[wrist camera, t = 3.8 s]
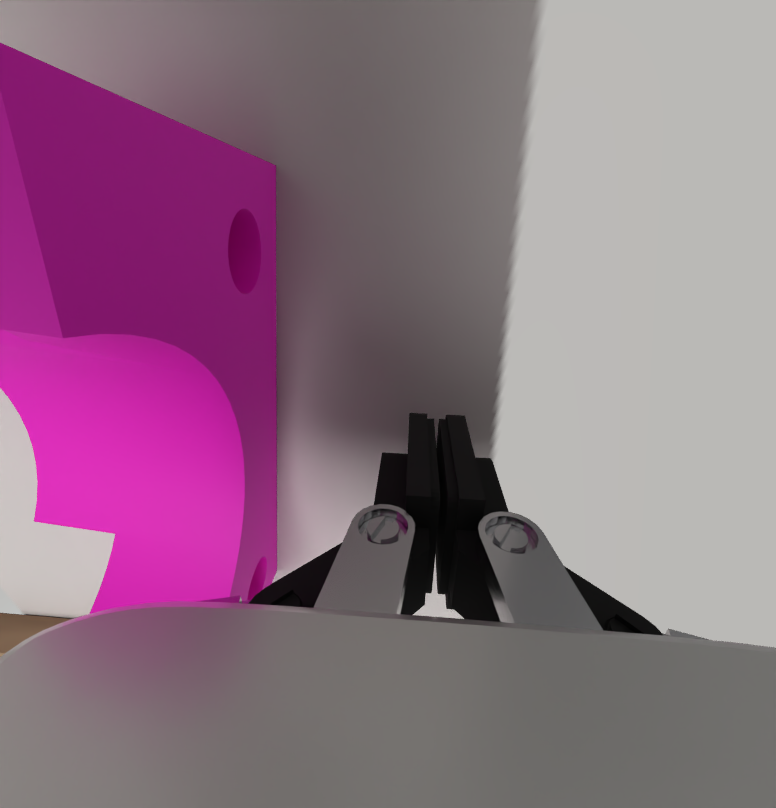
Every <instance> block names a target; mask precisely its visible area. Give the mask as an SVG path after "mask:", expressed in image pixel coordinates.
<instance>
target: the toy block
mask: <svg viewBox="0 0 776 808" xmlns="http://www.w3.org/2000/svg"><path fill="white" fill-rule="evenodd" d="M0 388H1V389H2V390H3V391H4V393H5V394H6V395H7V396H8V397H9V399H10V400H11V402H12V403H13V405H14V406H15V408H16V410H17V411H18V413H19V414H20V416H21V418H22V421H23V423H24V425H25V427H26V429H27V431H28V434H29V437H30V440H31V443H32V446H33V450H34V456H35V461H36V467H37V480H38V486H37V504H36V511H35V518H34V522H41V523H48V524H54V525H61V526H68V527H75V528H81V529H88V530H95V531H101V532H108V533H115V538H114V543H113V548H112V552H111V555H110V559H109V562H108V566H107V569H106V572H105V575H104V578H103V581H102V584H101V587H100V590H99V592H98V595H97V597H96V600H95V602H94V605H93V607H92V609H91V612H90V614H92V613H96V612H100V611H104V610H108V609H112V608H116V607H123V606H130V605H137V604H144V603H156V602H174V601H189V602H196V601H203V600H211V599H218V598H226V597H233V596H241V600H242V601H246V600H252V598H253V597H254V596H255V595H256V594H257V593H259V592H260V591H261V590H263V589H264V588H266V587H267V586H269V585H271V584H272V581H273V579H274V576H275V574H276V571H277V407H276V165H273V164H271V163H269V162H267V161H264V160H262V159H260V158H258V157H256V156H253V155H251V154H249V153H247V152H244V151H242V150H240V149H238V148H235V147H233V146H231V145H229V144H226V143H224V142H222V141H220V140H217V139H215V138H213V137H211V136H208V135H206V134H204V133H202V132H199V131H197V130H195V129H193V128H190V127H188V126H186V125H184V124H181V123H179V122H177V121H175V120H173V119H170V118H168V117H166V116H164V115H161V114H159V113H157V112H155V111H152V110H150V109H148V108H146V107H143V106H141V105H139V104H137V103H134V102H132V101H130V100H128V99H125V98H123V97H121V96H119V95H116V94H114V93H112V92H110V91H107V90H105V89H103V88H101V87H99V86H96V85H94V84H92V83H90V82H87V81H85V80H83V79H81V78H78V77H76V76H74V75H72V74H69V73H67V72H65V71H63V70H60V69H58V68H56V67H54V66H51V65H49V64H47V63H45V62H42V61H40V60H38V59H36V58H33V57H31V56H29V55H27V54H24V53H22V52H20V51H18V50H16V49H13V48H11V47H9V46H7V45H4V44H2V43H0Z"/></svg>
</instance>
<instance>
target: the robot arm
mask: <svg viewBox="0 0 776 808" xmlns="http://www.w3.org/2000/svg"><path fill="white" fill-rule="evenodd" d="M435 554H436V572H437V590H438V594H445V596H446V609H454V610H456V611H457V612H458V613H459V614H460V615H461V616H462V617H463V618H464V619H455V618H442V617H429V616H416V615H413V614H414V613H415V612H416V611H418V610H419V609H420V608H421V607H422V606H424V605H425V594H426V593H431V592H432V583H433V572H434V562H435ZM0 808H776V648H774V647H765V646H757V645H750V644H743V643H733V642H724V641H713V640H708V639H705V638H701V637H697V636H694V635H689V634H686V633H682V632H679V631H675V630H671V629H668V630H667V632H666V634H662V633H661V632H660V631H659V630H658V629H657V628H656V627H655V626H654V625H653V624H652V623H650V622H649V621H648V620H646V619H645V618H644V617H643V616H641V615H639V614H638V613H636V612H635V611H633V610H632V609H630V608H629V607H627V606H625V605H624V604H622V603H621V602H619V601H617V600H616V599H614V598H613V597H611V596H610V595H608V594H607V593H605V592H604V591H602V590H600V589H599V588H597V587H596V586H594V585H593V584H591V583H590V582H588V581H586V580H585V579H583V578H582V577H580V576H579V575H577V574H575V573H574V572H572V571H571V570H569V569H568V568H566V567H565V566H563V564H562V562H561V561H560V559H559V558H558V556H557V554H556V553H555V551H554V550H553V548H552V546H551V544H550V543H549V541H548V540H547V538H546V536H545V535H544V533H543V532H542V530H541V529H540V528H539V527H538V526H537V525H536V524H535V523H533V522H532V521H531V520H529V519H528V518H525V517H523V516H521V515H519V514H515V513H511V512H508V508H507V506H506V502H505V499H504V496H503V493H502V490H501V487H500V484H499V481H498V477H497V474H496V471H495V468H494V465H493V462H492V460H491V459H490V458H475V455H474V451H473V447H472V443H471V439H470V435H469V431H468V427H467V423H466V419H465V416H460V415H446V418H445V419H439V424H438V436H437V448H436V438H435V426H434V419H427V414H418V413H410V415H409V436H408V454H399V453H382V457H381V464H380V470H379V476H378V482H377V489H376V495H375V501H374V505H372V506H369V507H367V508H364V509H362V510H361V511H360V512H358V513H357V514H356V516H355V517H354V518H353V520H352V522H351V524H350V527H349V529H348V531H347V533H346V536H345V538H344V540H343V542H342V543H341V544H339V545H337V546H336V547H334V548H332V549H330V550H329V551H327V552H325V553H324V554H322V555H320V556H318V557H317V558H315V559H313V560H312V561H310V562H308V563H306V564H305V565H303V566H301V567H300V568H298V569H296V570H295V571H293V572H291V573H289V574H288V575H286V576H284V577H283V578H281V579H279V580H277V581H276V582H274V583H272V584H271V585H269V586H267V587H266V588H264V589H263V590H261V591H260V592H259V593H257V594H256V595H255V596H254V597H253V598H252V600H246V601H242V600H241V596H233V597H226V598H218V599H211V600H203V601H196V602H189V601H174V602H156V603H144V604H137V605H130V606H123V607H116V608H112V609H108V610H104V611H100V612H96V613H92V614H88V615H84V616H80V617H77V618H74V619H71V620H68V621H65V622H62V623H60V624H57V625H55V626H52V627H50V628H47V629H45V630H43V631H41V632H39V633H37V634H35V635H33V636H31V637H29V638H28V639H26V640H24V641H22V642H21V643H19V644H18V645H17V646H15V647H14V648H12V649H11V650H9V651H8V652H6V653H5V654H4V655H2V656H1V657H0Z"/></svg>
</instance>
